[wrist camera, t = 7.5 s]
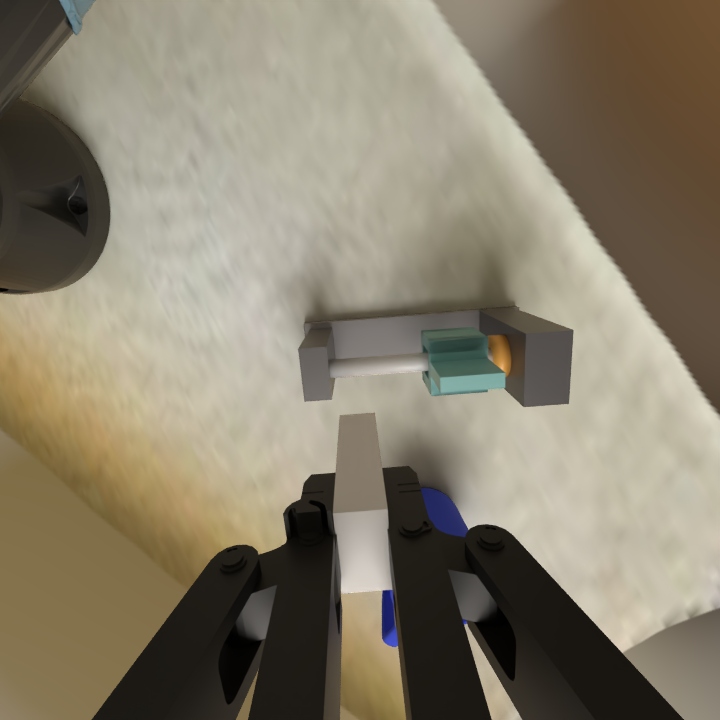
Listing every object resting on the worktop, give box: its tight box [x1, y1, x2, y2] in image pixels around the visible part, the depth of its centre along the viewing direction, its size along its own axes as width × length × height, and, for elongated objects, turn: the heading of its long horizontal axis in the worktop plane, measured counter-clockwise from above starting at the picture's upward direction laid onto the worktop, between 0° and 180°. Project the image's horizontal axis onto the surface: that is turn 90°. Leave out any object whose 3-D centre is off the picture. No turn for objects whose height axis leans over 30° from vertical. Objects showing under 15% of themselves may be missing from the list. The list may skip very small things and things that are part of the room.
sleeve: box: [421, 327, 505, 396], centre depth 29 cm, size 4×4×8 cm
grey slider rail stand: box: [298, 306, 573, 407], centre depth 32 cm, size 19×5×11 cm, turn 94°
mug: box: [382, 488, 469, 647], centre depth 38 cm, size 8×12×10 cm
